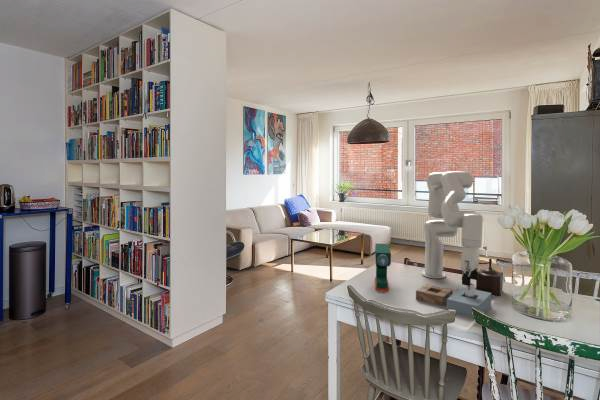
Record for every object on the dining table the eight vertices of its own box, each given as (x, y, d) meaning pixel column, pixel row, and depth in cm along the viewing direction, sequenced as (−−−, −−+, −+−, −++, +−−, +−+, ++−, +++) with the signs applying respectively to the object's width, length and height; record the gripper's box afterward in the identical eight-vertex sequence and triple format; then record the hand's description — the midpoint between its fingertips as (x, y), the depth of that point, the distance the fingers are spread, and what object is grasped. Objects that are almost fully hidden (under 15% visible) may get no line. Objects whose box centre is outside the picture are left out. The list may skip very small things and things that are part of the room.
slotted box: (462, 299, 159) (462, 286, 158) (490, 306, 151) (491, 292, 150) (446, 312, 144) (446, 298, 143) (477, 321, 136) (478, 306, 135)
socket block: (426, 294, 166) (426, 284, 165) (452, 300, 158) (452, 289, 157) (415, 301, 157) (416, 290, 157) (442, 308, 149) (442, 296, 148)
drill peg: (465, 304, 150) (466, 282, 149) (474, 307, 147) (475, 284, 147) (463, 307, 147) (464, 284, 146) (472, 309, 145) (473, 286, 144)
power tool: (391, 301, 157) (392, 258, 156) (375, 300, 159) (376, 257, 157) (388, 279, 188) (388, 243, 187) (374, 278, 190) (375, 243, 188)
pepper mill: (503, 290, 170) (505, 254, 169) (499, 297, 162) (501, 259, 160) (469, 284, 180) (470, 250, 178) (463, 290, 171) (465, 254, 170)
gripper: (468, 238, 154) (466, 275, 156) (455, 245, 141) (453, 285, 143) (486, 240, 149) (484, 279, 151) (474, 247, 136) (472, 289, 138)
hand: (469, 282), depth 147 cm, fingers open, 9 cm apart
